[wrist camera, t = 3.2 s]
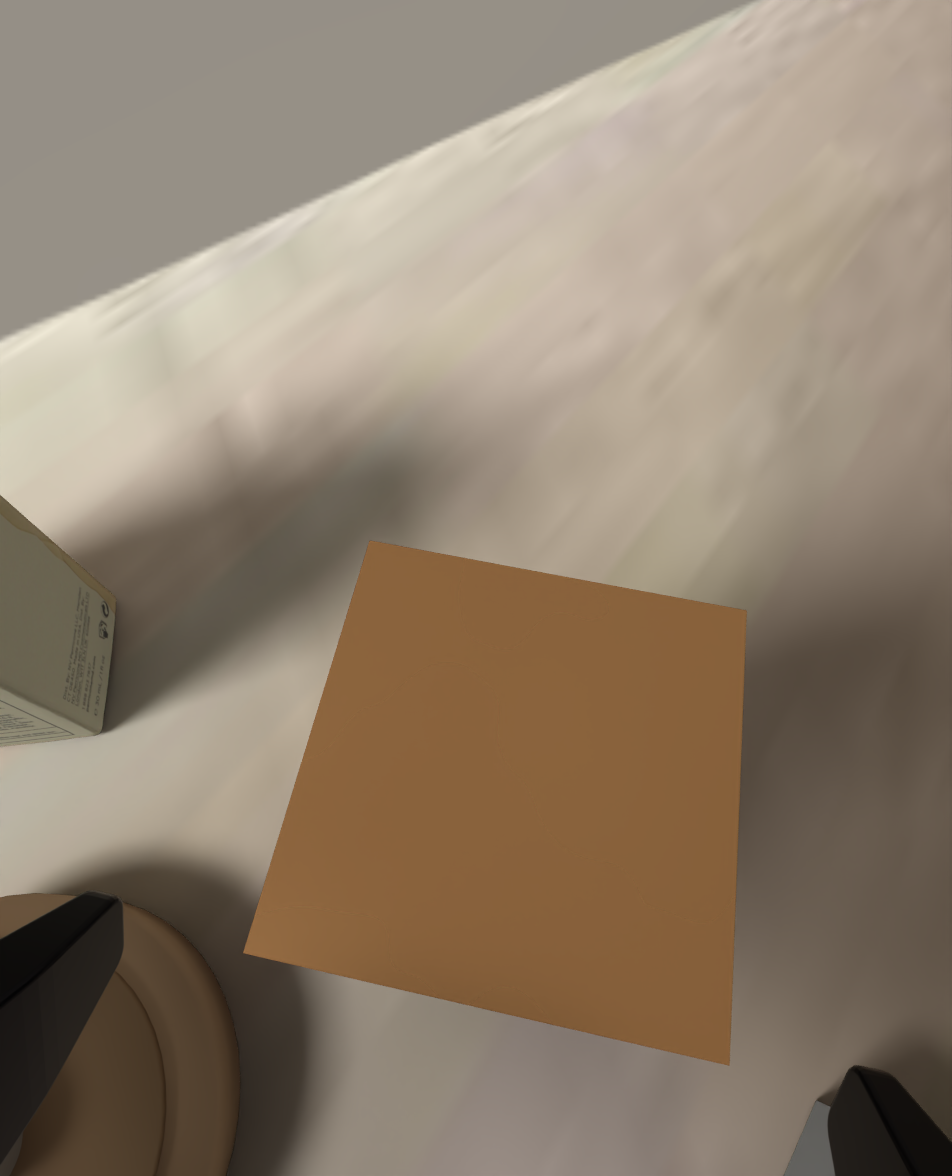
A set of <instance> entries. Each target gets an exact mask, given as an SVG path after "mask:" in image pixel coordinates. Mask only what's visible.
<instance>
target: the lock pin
mask: <svg viewBox="0 0 952 1176" xmlns="http://www.w3.org/2000/svg"><path fill="white" fill-rule="evenodd" d="M746 615H747V611H746V610H741V609H736V608H730V607H725V606H719V605H714V604H709V603H703V602H698V601H693V600H687V599H682V598H676V597H671V596H666V595H660V594H655V593H650V592H644V591H639V590H633V589H628V588H623V587H617V586H612V585H606V584H601V583H596V582H590V581H585V580H580V579H574V578H569V577H563V576H558V575H553V574H547V573H542V572H537V571H531V570H526V569H520V568H515V567H510V566H504V565H499V564H494V563H488V562H483V561H477V560H472V559H467V558H461V557H456V556H451V555H445V554H440V553H434V552H429V551H424V550H418V549H413V548H407V547H402V546H397V545H391V544H386V543H381V542H375V541H369V544H368V547H367V550H366V554H365V557H364V560H363V564H362V567H361V570H360V573H359V577H358V580H357V583H356V586H355V590H354V593H353V596H352V599H351V603H350V606H349V609H348V612H347V616H346V619H345V622H344V625H343V629H342V632H341V635H340V639H339V642H338V645H337V648H336V652H335V655H334V658H333V661H332V665H331V668H330V671H329V674H328V678H327V681H326V684H325V687H324V691H323V694H322V697H321V700H320V704H319V707H318V710H317V714H316V717H315V720H314V723H313V727H312V730H311V733H310V736H309V740H308V743H307V746H306V749H305V753H304V756H303V759H302V762H301V766H300V769H299V772H298V775H297V779H296V782H295V785H294V789H293V792H292V795H291V798H290V802H289V805H288V808H287V811H286V815H285V818H284V821H283V824H282V828H281V831H280V834H279V837H278V841H277V844H276V847H275V850H274V854H273V857H272V860H271V864H270V867H269V870H268V873H267V877H266V880H265V883H264V886H263V890H262V893H261V896H260V899H259V903H258V906H257V909H256V912H255V916H254V919H253V922H252V925H251V929H250V932H249V935H248V939H247V942H246V945H245V948H244V952H243V953H245V954H249V955H253V956H258V957H262V958H266V959H271V960H275V961H279V962H284V963H288V964H292V965H297V966H301V967H305V968H310V969H314V970H318V971H323V972H327V973H331V974H335V975H340V976H344V977H348V978H353V979H357V980H361V981H366V982H370V983H374V984H379V985H383V986H387V987H392V988H396V989H400V990H405V991H409V992H413V993H418V994H422V995H426V996H431V997H435V998H439V999H444V1000H448V1001H452V1002H457V1003H461V1004H465V1005H470V1006H474V1007H478V1008H482V1009H487V1010H491V1011H495V1012H500V1013H504V1014H508V1015H513V1016H517V1017H521V1018H526V1019H530V1020H534V1021H539V1022H543V1023H547V1024H552V1025H556V1026H560V1027H565V1028H569V1029H573V1030H578V1031H582V1032H586V1033H591V1034H595V1035H599V1036H604V1037H608V1038H612V1039H616V1040H621V1041H625V1042H629V1043H634V1044H638V1045H642V1046H647V1047H651V1048H655V1049H660V1050H664V1051H668V1052H673V1053H677V1054H681V1055H686V1056H690V1057H694V1058H699V1059H703V1060H707V1061H712V1062H716V1063H720V1064H725V1065H729V1064H730V1037H731V1011H732V985H733V958H734V932H735V905H736V879H737V853H738V826H739V800H740V774H741V747H742V721H743V695H744V668H745V642H746Z"/></svg>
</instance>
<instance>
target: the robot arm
mask: <svg viewBox="0 0 952 1176" xmlns="http://www.w3.org/2000/svg"><path fill="white" fill-rule="evenodd" d="M123 949H124V917H123V902H122V900H121V898H120V897H118V896H116V895H112V894H108V893H103V892H99V891H87V892H84V893H82V894H80V895H78V896H76V897H75V898H73V899H71V900H69V901H67V902H65V903H64V904H62V905H60V906H58V907H56V908H55V909H53V910H51V911H49V912H47V913H46V914H44V915H42V916H40V917H38V918H37V919H35V920H33V921H31V922H29V923H28V924H26V925H24V926H22V927H20V928H19V929H17V930H15V931H13V932H11V933H10V934H8V935H6V936H4V937H2V938H0V1166H1V1164H2V1163H3V1161H4V1160H5V1158H6V1157H7V1155H8V1154H9V1152H10V1151H11V1149H12V1148H13V1146H14V1145H15V1143H16V1142H17V1140H18V1139H19V1137H20V1136H21V1134H22V1133H23V1131H24V1130H25V1128H26V1127H27V1125H28V1124H29V1122H30V1121H31V1119H32V1118H33V1116H34V1114H35V1113H36V1111H37V1110H38V1108H39V1107H40V1105H41V1103H42V1102H43V1100H44V1099H45V1097H46V1096H47V1094H48V1092H49V1090H50V1089H51V1087H52V1085H53V1083H54V1082H55V1080H56V1078H57V1076H58V1075H59V1073H60V1071H61V1069H62V1068H63V1066H64V1064H65V1062H66V1060H67V1058H68V1056H69V1055H70V1053H71V1051H72V1049H73V1047H74V1045H75V1044H76V1042H77V1040H78V1038H79V1036H80V1034H81V1033H82V1031H83V1029H84V1027H85V1025H86V1023H87V1022H88V1020H89V1018H90V1016H91V1014H92V1012H93V1011H94V1009H95V1007H96V1005H97V1003H98V1001H99V1000H100V998H101V996H102V994H103V992H104V990H105V988H106V987H107V985H108V983H109V981H110V979H111V977H112V976H113V974H114V972H115V970H116V968H117V966H118V964H119V962H120V959H121V957H122V953H123ZM827 1129H828V1138H829V1143H830V1149H831V1155H832V1161H833V1167H834V1173H835V1176H952V1142H951V1141H950V1140H949V1139H948V1138H947V1136H946V1135H945V1134H944V1133H943V1132H942V1131H941V1130H940V1128H939V1127H938V1126H937V1125H936V1124H935V1123H934V1122H933V1120H932V1119H931V1118H930V1117H929V1116H928V1115H927V1114H926V1112H925V1111H924V1110H923V1109H922V1108H921V1107H920V1105H919V1104H918V1103H917V1102H916V1101H915V1100H914V1099H913V1097H912V1096H911V1095H910V1094H909V1093H908V1092H907V1091H906V1089H905V1088H904V1087H903V1086H902V1085H901V1084H900V1083H899V1081H898V1080H897V1079H896V1078H894V1077H893V1076H892V1075H891V1074H889V1073H887V1072H885V1071H881V1070H877V1069H873V1068H868V1067H864V1066H859V1065H855V1066H853V1067H851V1068H850V1069H849V1070H848V1071H847V1073H846V1075H845V1078H844V1080H843V1082H842V1084H841V1086H840V1088H839V1090H838V1092H837V1094H836V1097H835V1099H834V1101H833V1103H832V1105H831V1107H830V1110H829V1114H828V1121H827Z"/></svg>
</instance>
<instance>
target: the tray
mask: <svg viewBox="0 0 952 1176" xmlns="http://www.w3.org/2000/svg"><path fill="white" fill-rule="evenodd" d="M829 1110H830V1107H829V1106H827V1105H825V1104H823V1103H821V1102H819V1101H817V1100H816V1102H815V1105H814V1107H813V1109H812V1112H811V1114H810V1116H809V1119H808V1121H807V1123H806V1125H805V1128H804V1130H803V1132H802V1135H801V1137H800V1139H799V1142H798V1144H797V1146H796V1149H795V1151H794V1153H793V1156H792V1158H791V1160H790V1163H789V1165H788V1167H787V1170H786V1172H785V1174H784V1176H835V1173H834V1167H833V1161H832V1155H831V1149H830V1143H829V1138H828V1129H827V1121H828V1114H829Z"/></svg>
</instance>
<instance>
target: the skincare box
mask: <svg viewBox="0 0 952 1176" xmlns="http://www.w3.org/2000/svg"><path fill="white" fill-rule="evenodd" d="M115 611H116V598H115V596H114V595H113V594H112V593H111V592H110V591H108V590H107V589H106V588H105V587H104V586H102V585H101V584H100V583H99V582H98V581H97V580H96V579H95V578H94V577H92V576H91V575H90V574H89V573H88V572H87V571H86V570H84V569H83V568H82V567H81V566H80V565H79V564H78V563H77V562H75V561H74V560H73V559H72V558H71V557H70V556H69V555H68V554H66V553H65V552H64V551H63V550H62V549H61V548H60V547H58V546H57V545H56V544H55V543H54V542H53V541H52V540H51V539H49V538H48V537H47V536H46V535H45V534H44V533H43V532H41V531H40V530H39V529H38V528H37V527H36V526H35V525H33V524H32V523H31V522H30V521H29V520H28V519H27V518H26V517H24V516H23V515H22V514H21V513H20V512H19V511H18V510H17V509H15V508H14V507H13V506H12V505H11V504H10V503H9V502H8V501H6V500H5V499H4V498H3V497H2V496H1V495H0V747H1V746H11V745H21V744H30V743H39V742H49V741H56V740H64V739H71V738H79V737H88V736H93V735H98V734H99V733H100V732H101V730H102V726H103V717H104V710H105V702H106V695H107V688H108V679H109V670H110V662H111V654H112V644H113V633H114V624H115Z"/></svg>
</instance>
